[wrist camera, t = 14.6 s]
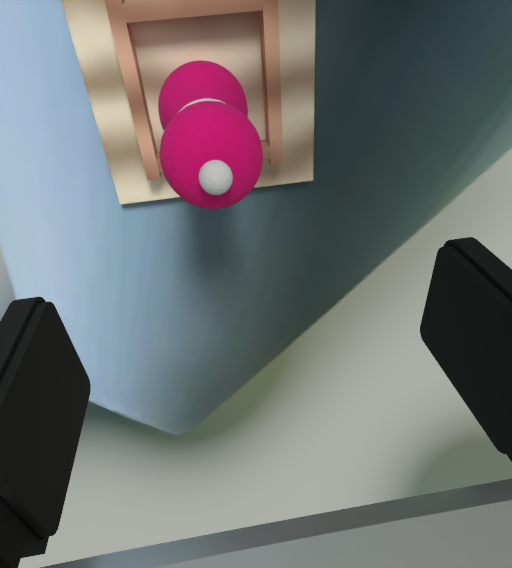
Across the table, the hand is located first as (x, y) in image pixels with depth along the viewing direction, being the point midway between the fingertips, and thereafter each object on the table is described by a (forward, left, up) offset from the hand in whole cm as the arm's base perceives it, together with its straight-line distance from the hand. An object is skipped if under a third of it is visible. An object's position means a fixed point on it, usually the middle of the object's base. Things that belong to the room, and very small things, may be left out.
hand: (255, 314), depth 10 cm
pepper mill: (+1, -1, -32) cm, 32 cm away
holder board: (0, 0, -33) cm, 33 cm away
